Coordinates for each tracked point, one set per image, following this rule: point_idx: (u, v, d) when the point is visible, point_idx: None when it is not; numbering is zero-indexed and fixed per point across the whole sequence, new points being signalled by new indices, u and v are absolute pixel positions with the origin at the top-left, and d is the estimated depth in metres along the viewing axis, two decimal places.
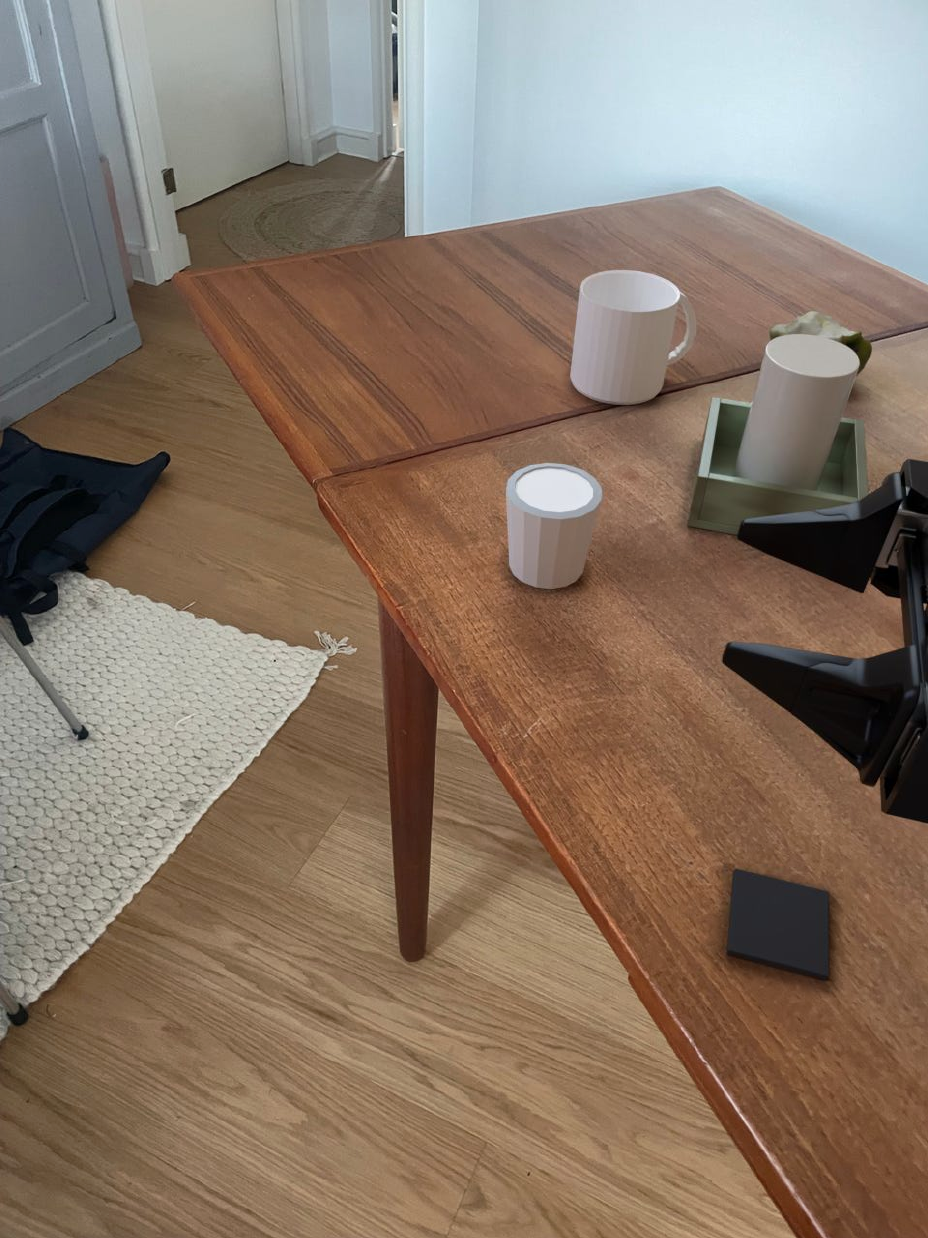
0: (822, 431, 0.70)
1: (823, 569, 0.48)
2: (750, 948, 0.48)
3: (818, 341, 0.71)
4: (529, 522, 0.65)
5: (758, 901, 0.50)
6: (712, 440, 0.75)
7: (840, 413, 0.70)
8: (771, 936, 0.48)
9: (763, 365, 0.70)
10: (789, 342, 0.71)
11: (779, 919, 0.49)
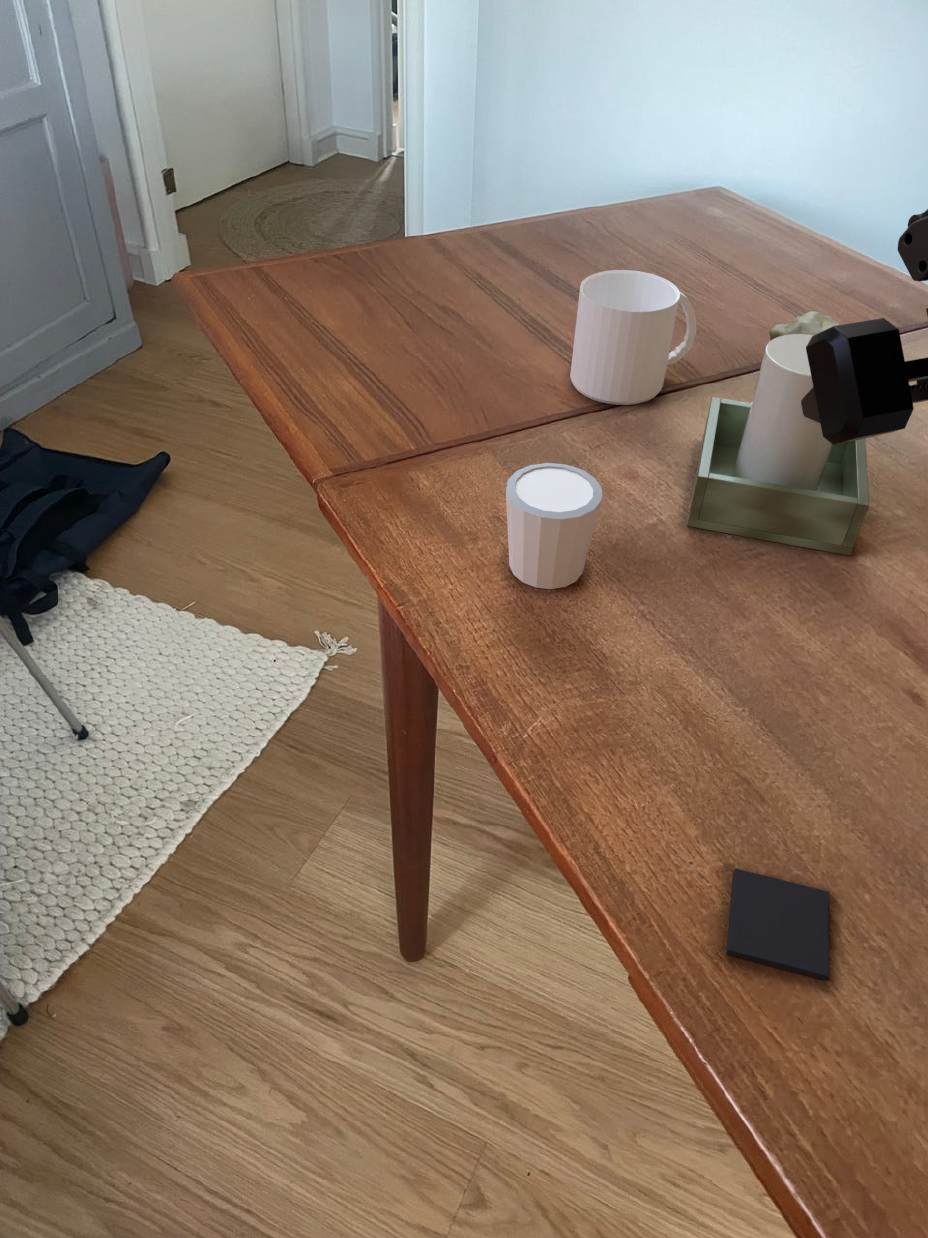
0: None
1: None
2: (750, 948, 0.48)
3: None
4: (529, 522, 0.65)
5: (758, 901, 0.50)
6: (712, 440, 0.75)
7: None
8: (771, 936, 0.48)
9: (763, 365, 0.70)
10: (789, 342, 0.71)
11: (779, 919, 0.49)
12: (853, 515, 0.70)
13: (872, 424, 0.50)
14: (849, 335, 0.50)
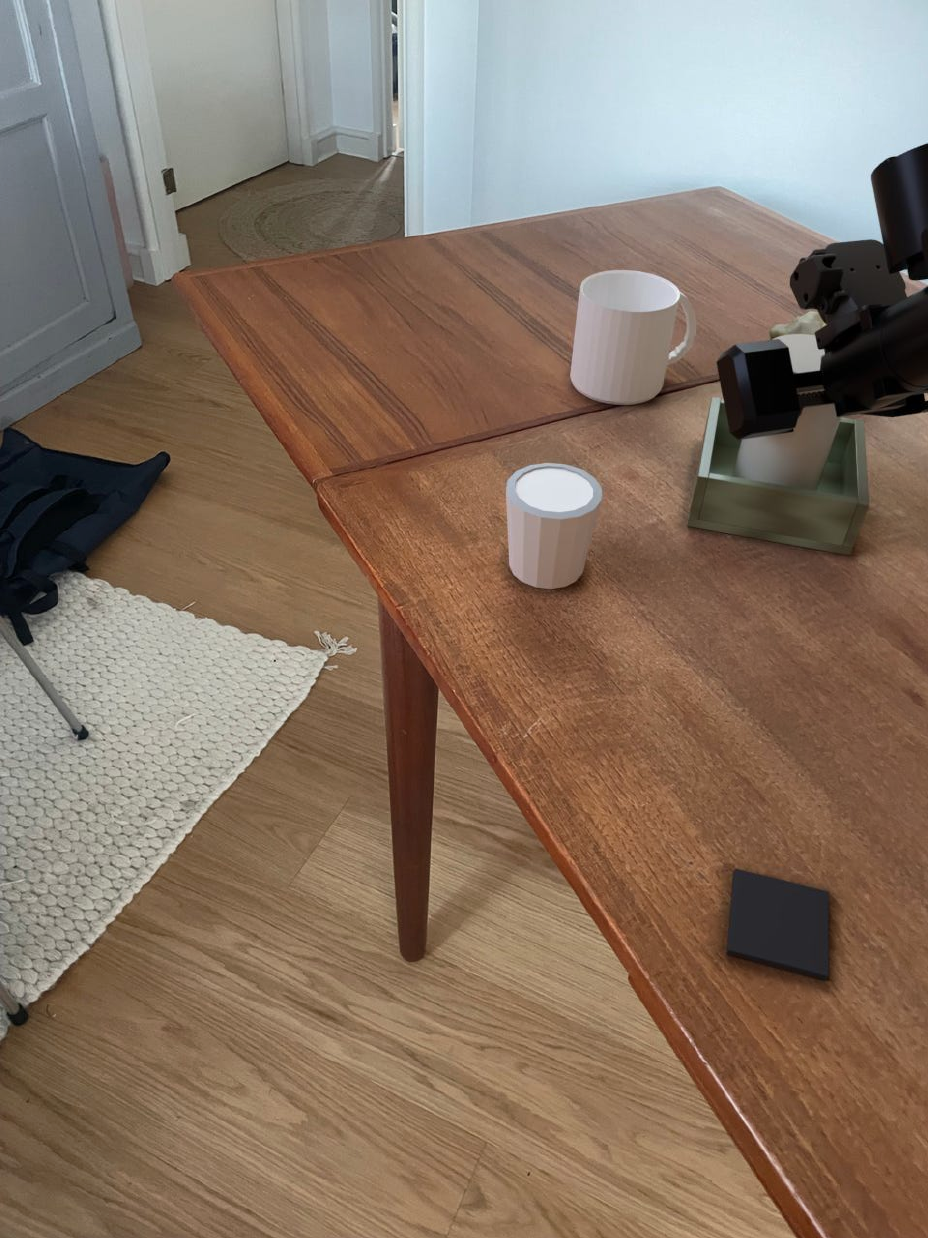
0: (822, 430, 0.70)
1: None
2: (750, 948, 0.48)
3: None
4: (529, 522, 0.65)
5: (758, 901, 0.50)
6: (712, 440, 0.75)
7: None
8: (771, 936, 0.48)
9: None
10: (789, 342, 0.71)
11: (779, 919, 0.49)
12: (853, 515, 0.70)
13: (765, 422, 0.63)
14: (746, 351, 0.62)
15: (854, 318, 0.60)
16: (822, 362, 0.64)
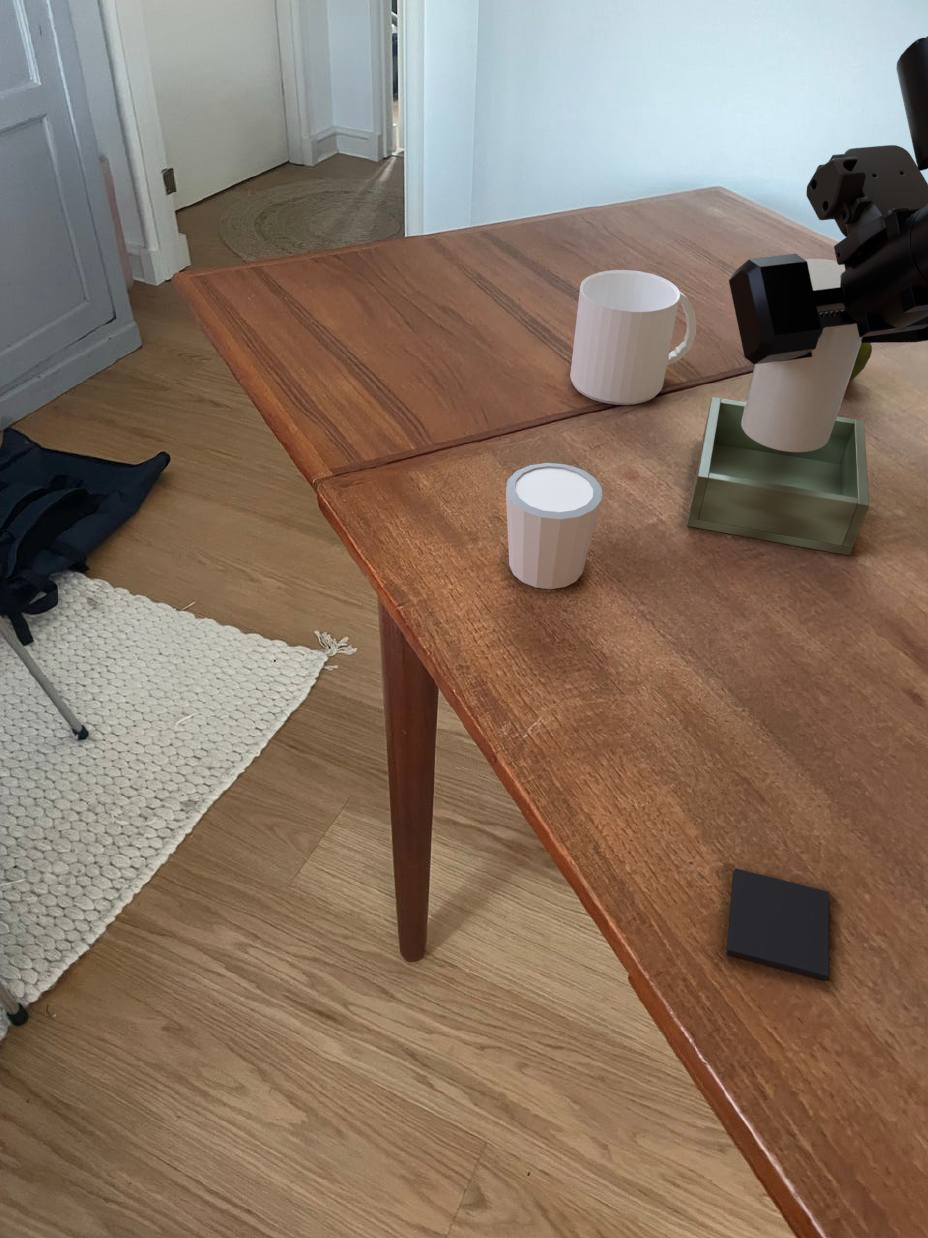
0: (840, 359, 0.65)
1: (886, 335, 0.66)
2: (750, 948, 0.48)
3: (833, 265, 0.66)
4: (529, 522, 0.65)
5: (758, 901, 0.50)
6: (712, 440, 0.75)
7: (859, 340, 0.65)
8: (771, 936, 0.48)
9: None
10: None
11: (779, 919, 0.49)
12: (853, 515, 0.70)
13: (784, 342, 0.58)
14: (762, 265, 0.58)
15: (879, 225, 0.56)
16: (842, 278, 0.59)
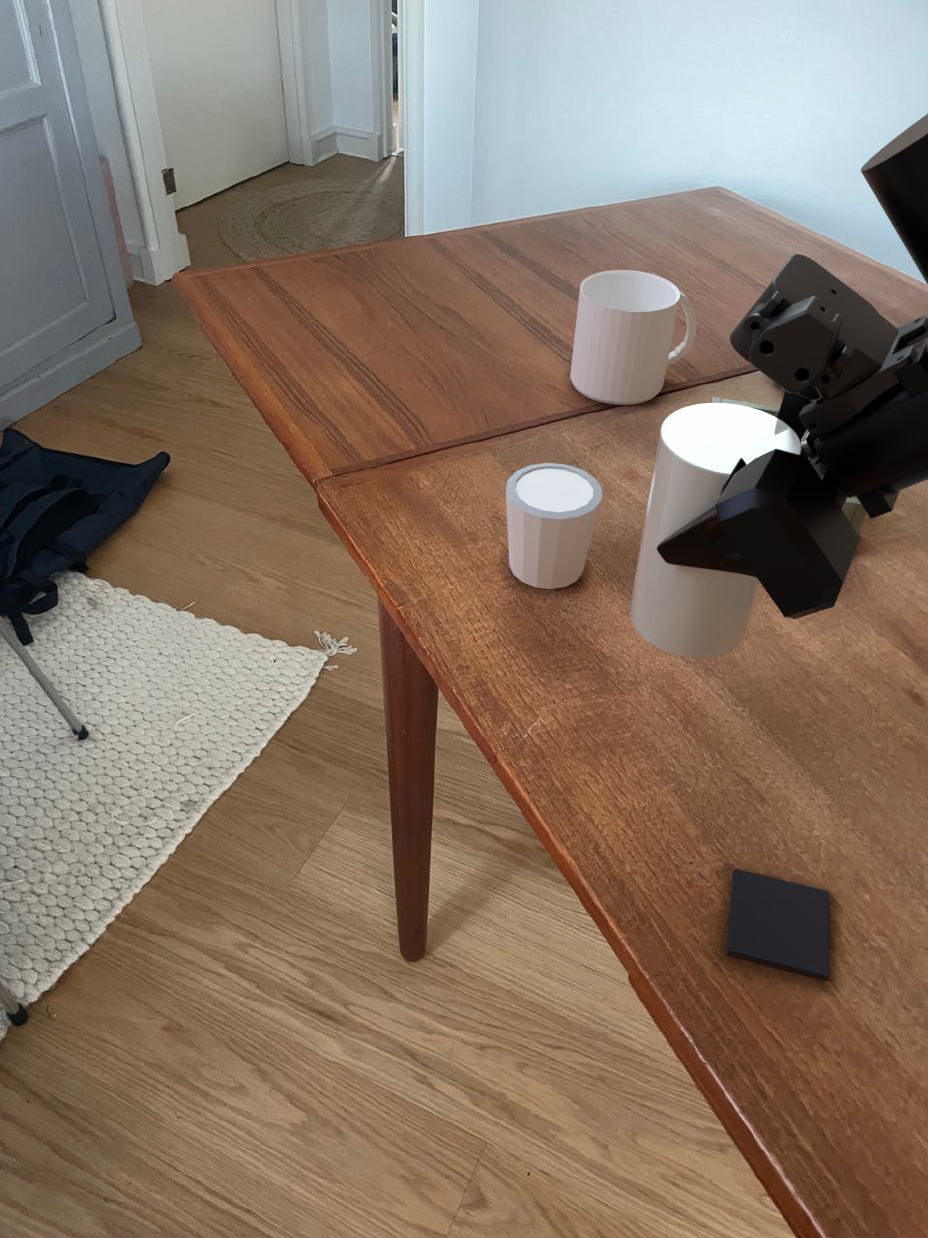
0: None
1: None
2: (750, 948, 0.48)
3: (706, 413, 0.47)
4: (529, 522, 0.65)
5: (758, 901, 0.50)
6: None
7: None
8: (771, 936, 0.48)
9: (684, 480, 0.45)
10: (684, 431, 0.46)
11: (779, 919, 0.49)
12: (853, 515, 0.70)
13: (843, 581, 0.38)
14: (781, 492, 0.37)
15: (886, 380, 0.38)
16: (823, 453, 0.41)
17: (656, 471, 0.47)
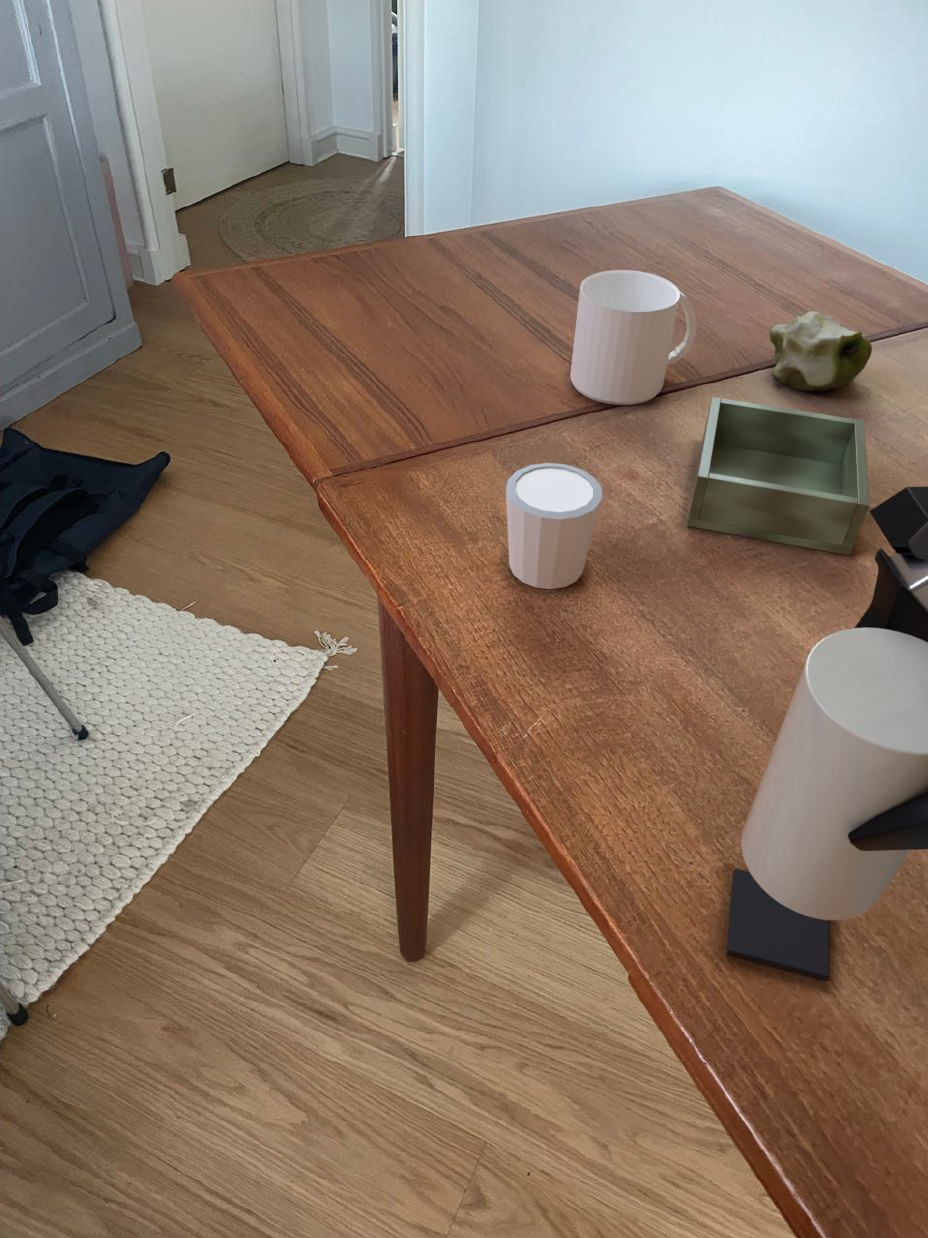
0: None
1: None
2: (750, 948, 0.48)
3: (836, 658, 0.38)
4: (529, 522, 0.65)
5: (758, 901, 0.50)
6: (712, 440, 0.75)
7: None
8: (771, 936, 0.48)
9: (891, 768, 0.35)
10: (847, 700, 0.36)
11: (779, 919, 0.49)
12: (853, 515, 0.70)
13: None
14: None
15: None
16: None
17: (827, 756, 0.36)
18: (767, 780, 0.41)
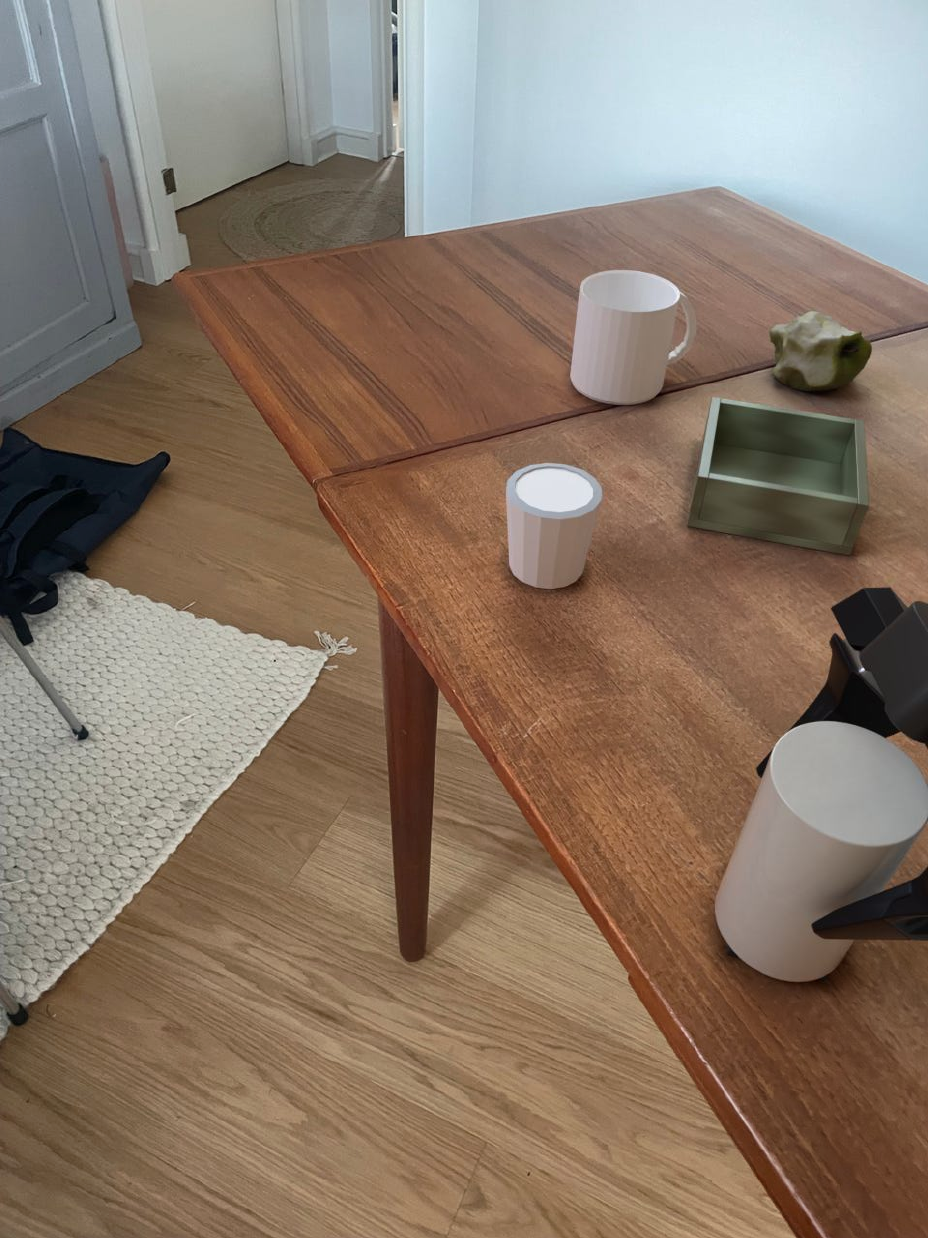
0: None
1: None
2: None
3: (798, 752, 0.42)
4: (529, 522, 0.65)
5: None
6: (712, 440, 0.75)
7: None
8: None
9: (845, 857, 0.39)
10: (807, 793, 0.40)
11: None
12: (853, 515, 0.70)
13: None
14: None
15: None
16: None
17: (789, 843, 0.41)
18: (737, 855, 0.45)
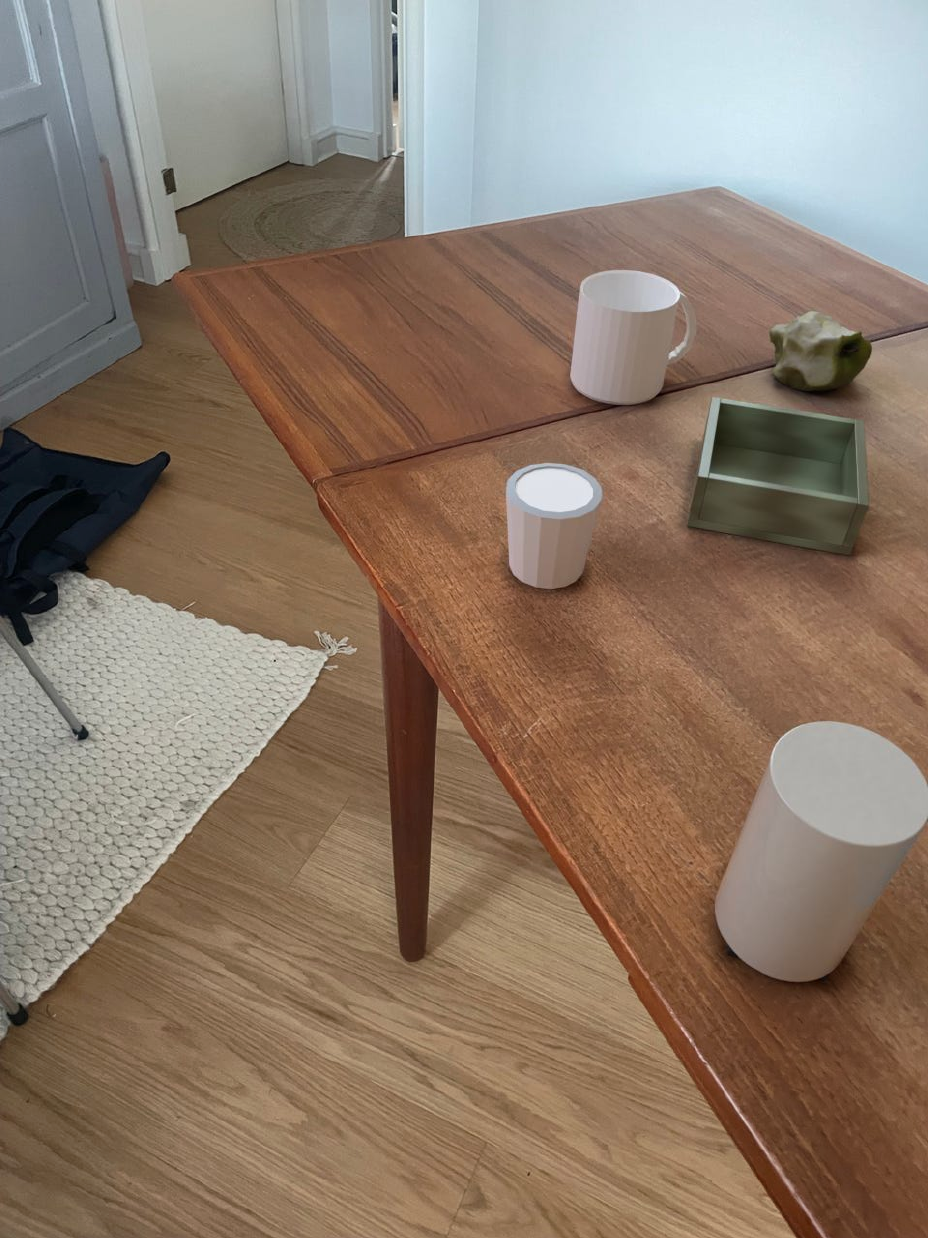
0: None
1: None
2: None
3: (798, 752, 0.42)
4: (529, 522, 0.65)
5: None
6: (712, 440, 0.75)
7: None
8: None
9: (845, 857, 0.39)
10: (807, 793, 0.40)
11: None
12: (853, 515, 0.70)
13: None
14: None
15: None
16: None
17: (789, 843, 0.41)
18: (737, 855, 0.45)
